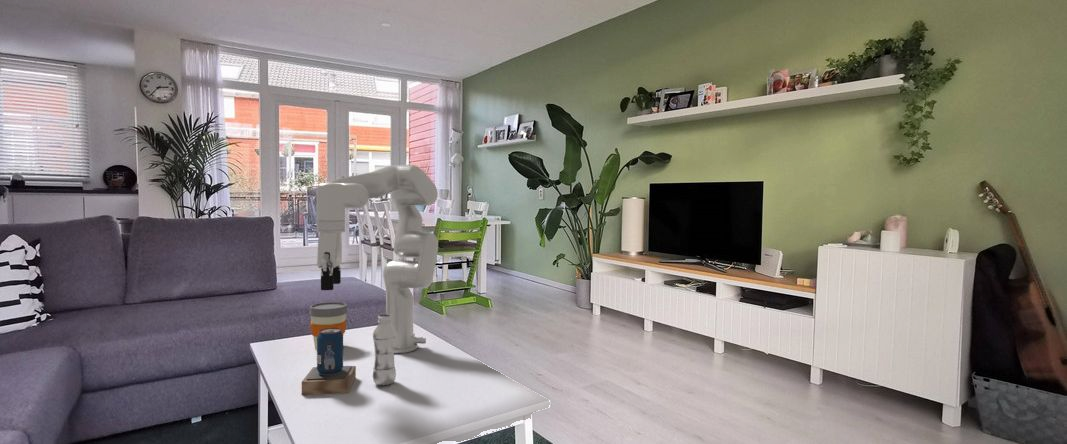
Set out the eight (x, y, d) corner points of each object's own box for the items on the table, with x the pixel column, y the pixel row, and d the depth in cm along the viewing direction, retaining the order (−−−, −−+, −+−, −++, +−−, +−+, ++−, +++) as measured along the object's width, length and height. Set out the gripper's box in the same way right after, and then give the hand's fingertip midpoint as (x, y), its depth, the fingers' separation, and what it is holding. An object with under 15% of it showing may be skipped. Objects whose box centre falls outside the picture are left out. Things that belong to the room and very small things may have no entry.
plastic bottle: (400, 381, 151) (401, 314, 150) (386, 389, 145) (387, 319, 144) (381, 378, 153) (382, 312, 152) (367, 386, 147) (368, 317, 146)
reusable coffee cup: (334, 340, 192) (334, 300, 192) (354, 346, 185) (354, 305, 184) (302, 347, 182) (302, 305, 181) (322, 354, 175) (322, 311, 174)
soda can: (335, 366, 151) (335, 325, 151) (347, 371, 147) (348, 330, 146) (312, 372, 146) (312, 330, 146) (324, 377, 142) (324, 334, 141)
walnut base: (355, 377, 153) (355, 364, 153) (347, 393, 142) (347, 378, 141) (313, 379, 152) (313, 365, 151) (301, 394, 140) (301, 380, 140)
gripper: (324, 224, 154) (324, 281, 154) (308, 229, 137) (309, 292, 137) (350, 225, 155) (350, 281, 156) (338, 229, 138) (338, 292, 139)
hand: (331, 286), depth 147 cm, fingers open, 9 cm apart
